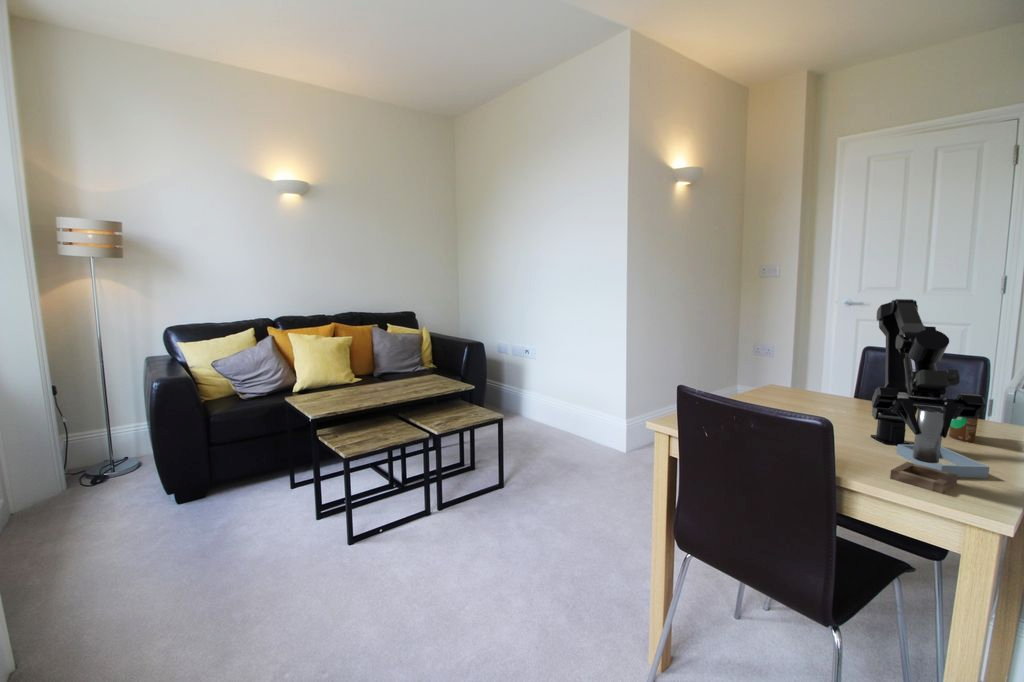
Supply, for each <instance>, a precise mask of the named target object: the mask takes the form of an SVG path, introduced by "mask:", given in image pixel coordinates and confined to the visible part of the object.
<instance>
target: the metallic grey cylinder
mask: <svg viewBox="0 0 1024 682" xmlns="http://www.w3.org/2000/svg"><path fill="white" fill-rule="evenodd" d="M944 418H945V412H944V411H942V409H938V408H937V409H936V408H928V407H920V408H918V410H917V417H916V421H917V425H918V434H917V435H915V434H914V442H913V445H914V449H913V458H914V459H916V460H918V461H922V462H927V463H938V462H939V463H940V457H939V456H940V449H941V446H942V441H943V437H942V433H943V426H944Z"/></svg>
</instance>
